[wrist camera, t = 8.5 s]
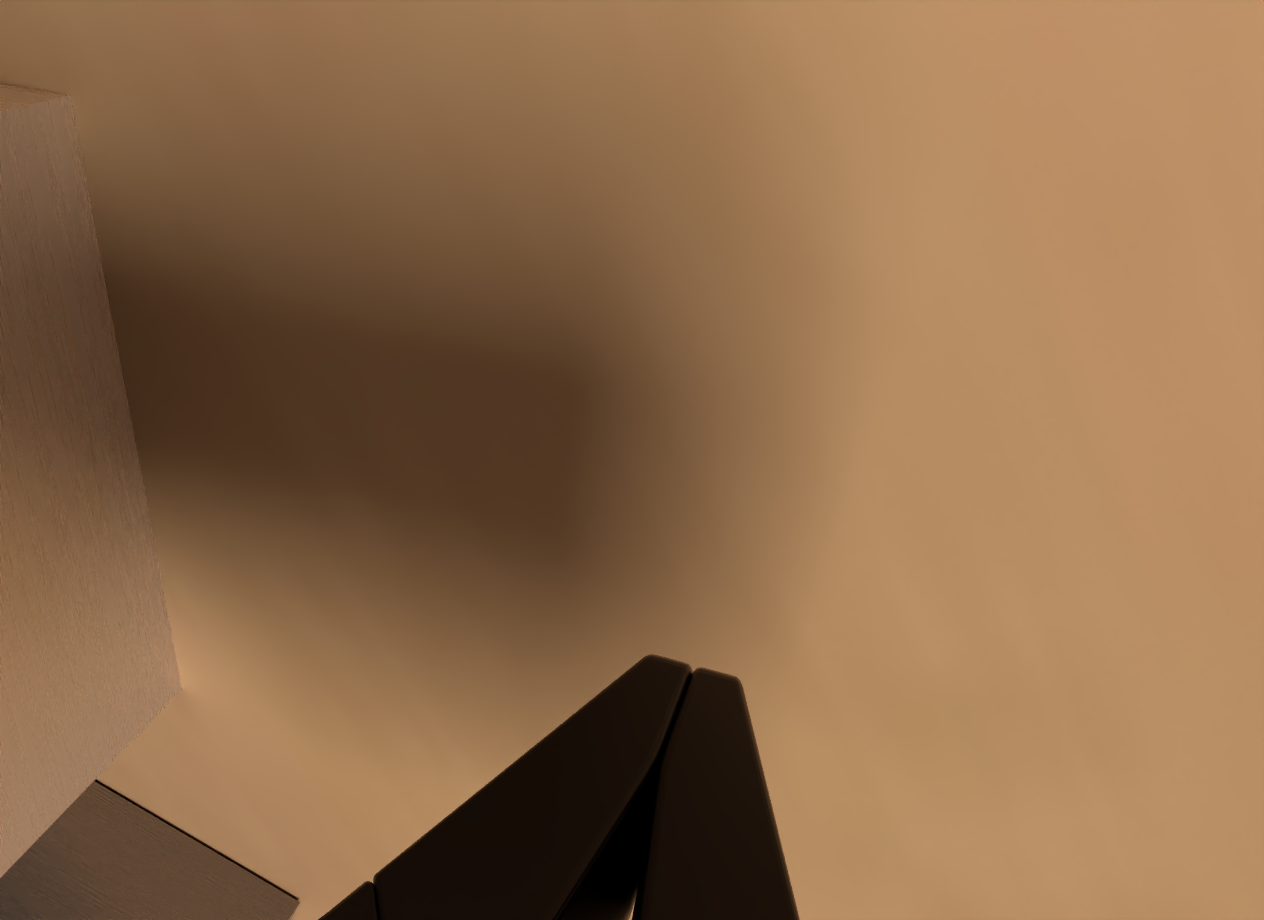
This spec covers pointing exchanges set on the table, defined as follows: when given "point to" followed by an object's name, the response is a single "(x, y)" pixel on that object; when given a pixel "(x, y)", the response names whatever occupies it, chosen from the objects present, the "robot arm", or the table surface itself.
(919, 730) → the table surface
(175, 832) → the guide bracket
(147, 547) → the block
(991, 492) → the table surface
